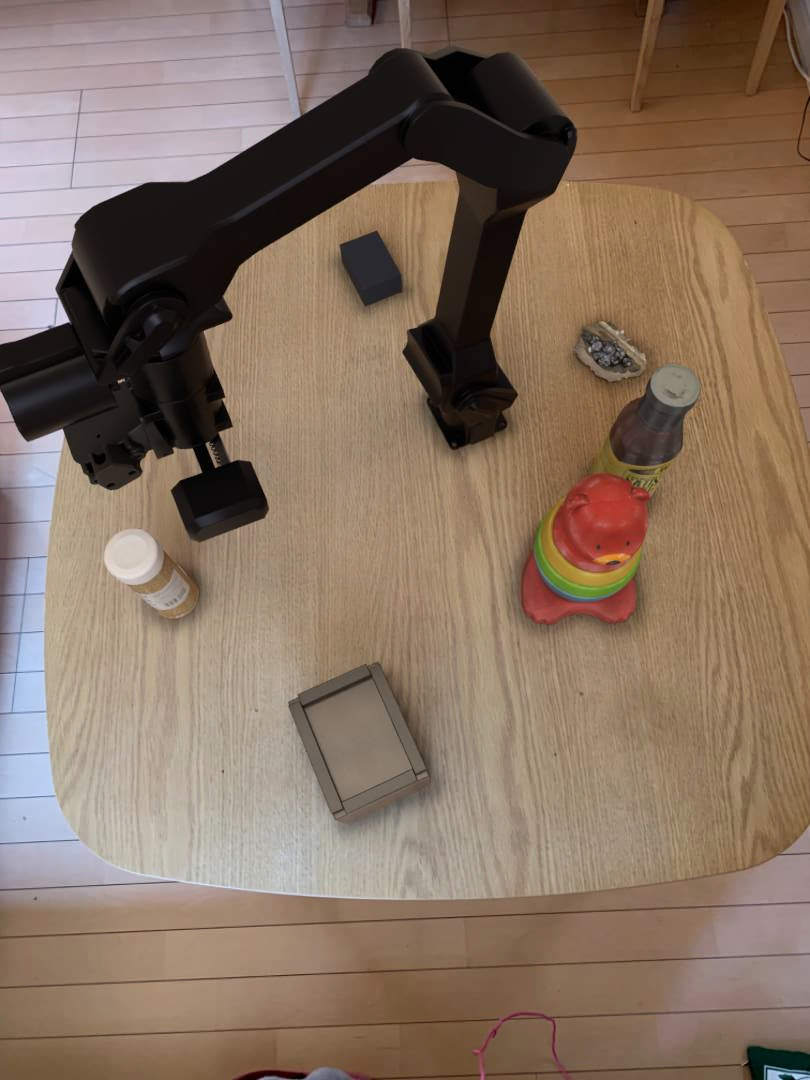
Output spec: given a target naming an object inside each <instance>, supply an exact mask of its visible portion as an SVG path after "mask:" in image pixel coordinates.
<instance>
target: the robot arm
mask: <svg viewBox="0 0 810 1080" xmlns="http://www.w3.org/2000/svg"><path fill="white" fill-rule="evenodd" d="M578 138H579V132H578V129H577V128H576V126H575V124H574V123H573V120H571V118H570V117H569V115H567V113H566V112H565V111H564V110H563V108H562V107H561V106H560V105H559V103H558V102H557V101H556V99H555V98H554V96H553V95H552V94H551V93H550V91H549V90H548V89H547V88H546V86H545V85H544V84H543V83H542V82H541V80H540V79H539V77H538V76H537V75H536V74H535V73H534V71H533V70H532V68H531V67H530V66H529V64H527V62H526V61H525V60H524V59H523V57H521V55H519V54H517V53H514V52H511V51H504V52H497V53H494V54H492V55H490V54H486V53H482V52H480V51H476V50H472V49H467V48H464V47H461V46H457V45H448V46H445V47H443V48H440V49H438V50H435V51H433V52H430V53H428V52H423V51H419V50H415V49H412V48H407V47H395V48H393V49H390V50H388V51H386V52H384V53H383V54H382V55H381V56H380V57H378V58H377V59H376V60H375V61H374V62H373V65H372V66H371V68H370V69H369V70H368V72H367V75H366V76H364V77H362V78H360V79H359V80H357V81H355V82H354V83H352V84H350V85H349V86H347V87H346V88H344V89H343V90H341V91H339V92H338V93H336V94H335V95H333V96H331V97H330V98H328V99H326V100H325V101H323V102H321V103H320V104H318V105H316V106H315V107H313V108H312V109H310V110H309V111H307V112H305V113H304V114H302V115H300V116H299V117H297V118H295V119H294V120H292V121H290V122H289V123H287V124H285V125H284V126H282V127H280V128H279V129H277V130H275V131H274V132H272V133H271V134H269V135H268V136H266V137H264V138H263V139H260V140H259V141H258V142H255V143H254V144H253V145H251V146H250V147H248V148H246V149H245V150H243V151H241V152H239V153H238V154H236V155H235V156H233V157H232V158H229V159H228V160H227V161H225V162H223V163H222V164H220V165H218V166H217V167H215V168H213V169H212V170H210V171H209V172H206V173H205V174H203V175H200V176H198V177H195V178H193V179H191V180H188V181H148V182H145V183H142V184H139V185H137V186H135V187H133V188H131V189H128V190H126V191H124V192H122V193H119V194H117V195H114V196H112V197H110V198H108V199H105V200H103V201H101V202H98V203H97V204H95V205H92V207H90V208H89V209H88V210H87V211H85V212H84V213H83V214H82V215H80V216H79V218H78V219H77V220H76V221H75V223H74V225H73V227H74V232H73V236H72V239H71V252H70V254H69V257H68V259H67V261H66V263H65V265H64V268H63V270H62V272H61V274H60V276H59V279H58V280H57V283H56V285H55V288H54V290H55V293H56V295H57V297H58V299H59V302H60V303H61V307H62V308H63V310H64V312H65V315H66V317H67V319H68V321H67V322H65V323H62V324H59V325H57V326H54V327H51V328H49V329H48V328H47V329H46V330H43V331H40V332H37V333H35V334H32V335H28V336H26V337H24V338H21V339H17V340H13V341H8V342H4V343H1V344H0V394H1V395H2V397H3V399H4V401H5V403H6V405H7V407H8V410H9V412H10V414H11V418H12V420H13V422H14V425H15V427H16V429H17V431H18V432H19V434H20V435H21V437H22V438H23V440H24V441H25V442H27V443H30V442H33V441H36V440H37V439H40V438H43V437H45V436H48V435H50V434H54V433H56V432H58V431H61V430H62V431H63V435H64V437H65V440H66V443H67V446H68V449H69V453H70V455H71V458H72V460H73V461H74V462H75V463H77V464H79V465H80V467H81V471H82V473H83V475H85V476H87V478H88V481H89V483H90V485H93V486H97V485H98V486H100V487H102V488H104V489H106V490H108V491H117V490H120V489H121V488H123V487H125V486H127V485H128V484H130V483H132V482H133V481H135V480H137V479H139V478H140V477H141V476H142V475H143V472H144V471H143V468H142V466H141V462H142V460H144V459H145V458H146V457H147V454H148V453H149V452H151V451H153V453H154V455H155V457H156V459H157V460H160V459H163V458H167V457H169V456H171V455H174V453H175V451H174V448H176V449H178V450H192V452H193V455H194V456H195V459H196V461H197V464H198V466H199V468H200V471H201V472H200V473H199V472H198V473H197V474H193V475H191V476H189V477H186V478H183V479H180V480H179V481H178V482H177V483H176V484H175V485H174V486H173V487H172V488H171V489H170V494H171V495H172V499H173V501H174V503H175V506H176V508H177V512H178V514H179V516H180V519H181V521H182V524H183V527H184V529H185V532H186V534H187V537H188V538H189V540H191V541H195V542H197V543H202V542H205V541H208V540H211V539H213V538H216V537H219V536H221V535H223V534H226V533H227V534H228V533H229V532H232V531H234V530H238V529H240V528H243V527H245V526H248V525H251V524H253V523H256V522H258V521H262V520H264V519H265V518H266V516H267V514H268V512H269V511H270V506H269V503H268V499H267V496H266V493H265V491H264V489H263V487H262V484H261V482H260V479H259V478H258V474H257V472H256V469H255V467H254V466H253V463H252V461H250V460H241V459H235V460H233V461H231V459H230V456H229V454H228V451H227V449H226V446H225V443H224V442H223V439H222V436H221V434H220V432H224V431H226V430H228V429H231V428H234V424H233V420H232V419H231V416H230V414H229V411H228V409H227V407H226V404H225V402H224V400H223V399H226V394H225V391H224V388H223V385H222V383H221V381H220V378H219V376H218V373H217V371H216V368H215V367H214V364H213V360H212V356H211V353H210V349H209V346H208V341H207V339H206V334H205V332H206V331H208V330H210V329H212V328H216V327H218V326H221V325H223V324H226V323H229V322H230V321H232V319H233V317H234V315H233V312H232V310H231V308H230V306H229V305H228V303H227V301H226V300H225V297H224V296H225V294H226V292H227V290H228V288H229V286H230V285H231V283H232V281H233V279H234V277H235V276H236V274H237V271H238V270H239V268H240V267H241V266H242V265H243V264H244V263H245V262H247V261H248V260H249V259H251V258H252V257H253V256H255V255H256V254H257V253H259V252H260V251H262V250H264V249H266V248H267V247H269V246H271V245H272V244H273V243H275V242H277V241H279V240H280V239H282V238H284V237H285V236H287V235H289V234H290V233H292V232H293V231H295V230H297V229H299V228H300V227H301V226H303V225H305V224H307V223H309V222H310V221H312V220H313V219H315V218H316V217H317V218H318V216H320V215H322V214H323V213H325V212H327V211H328V210H330V209H331V208H333V207H335V206H337V205H338V204H340V203H341V202H343V201H345V200H346V199H348V198H350V197H351V196H353V195H355V194H356V193H358V192H360V191H361V190H363V189H365V188H366V187H368V186H369V185H372V184H373V183H374V182H377V181H378V180H379V179H381V178H382V177H383V178H384V176H386V175H388V174H389V173H391V172H392V171H394V170H396V169H397V168H399V167H401V166H403V165H405V164H406V163H408V162H409V161H411V160H413V159H415V160H418V161H421V162H422V161H423V162H429V163H435V164H436V163H437V164H440V165H442V166H444V167H446V168H448V169H450V170H452V171H454V173H455V175H456V181H457V184H458V197H457V201H456V208H455V210H454V211H455V212H454V217H453V221H452V227H451V233H450V236H449V242H448V247H447V252H446V258H445V262H444V268H443V271H442V272H443V273H442V277H441V283H440V288H439V293H438V299H437V302H436V303H437V304H436V308H435V313H434V316H433V317H432V318H430V319H428V320H426V321H424V322H422V323H420V324H418V325H417V326H416V327H413V328H409V329H407V330H406V336H407V340H406V344H405V346H404V348H403V350H402V352H401V353H402V355H403V357H404V358H405V360H406V362H407V363H408V365H409V367H410V369H411V370H412V372H413V373H414V375H415V376H416V378H417V379H418V382H419V383H420V385H421V386H422V387H423V390H424V391H425V393H426V395H427V396H428V397H427V398H426V406H427V408H428V409H429V411H430V413H431V415H432V416H433V419H434V421H435V423H436V425H437V427H438V428H439V430H440V432H441V434H442V436H443V438H444V440H445V442H446V444H447V445H448V448H449V449H450V450H452V451H457V450H459V449H462V448H464V447H466V446H469V445H471V446H473V445H476V444H478V443H480V442H483V441H485V440H487V439H490V438H492V437H494V436H495V434H497V433H499V432H501V431H504V430H506V429H507V427H508V420H507V419H506V417H505V415H504V413H503V412H504V411H506V410H508V409H510V408H511V407H512V406H513V405H514V403H515V401H516V399H517V398H518V396H519V393H518V392H517V390H516V388H515V387H514V385H513V384H512V382H511V381H510V379H509V377H508V376H507V375H506V374H505V372H504V371H503V369H502V367H501V366H500V364H499V362H498V360H497V358H496V354H495V353H496V352H495V348H494V346H493V341H492V338H491V337H492V336H491V333H492V330H493V325H494V323H495V319H496V315H497V313H498V310H499V305H500V302H501V299H502V295H503V292H504V289H505V285H506V282H507V278H508V275H509V272H510V269H511V265H512V262H513V258H514V256H515V251H516V249H517V245H518V242H519V239H520V235H521V231H522V228H523V225H524V221H525V218H526V215H527V213H528V211H529V210H530V209H531V208H532V207H535V206H536V205H538V204H539V203H541V202H542V201H545V200H546V199H548V198H549V197H551V196H553V195H554V194H555V193H556V191H557V189H558V187H559V185H560V183H561V181H562V179H563V177H564V174H565V173H566V171H567V168H568V166H569V164H570V162H571V161H572V159H573V156H574V153H575V152H576V148H577V144H578V140H579V139H578ZM119 381H121V382H119ZM207 444H209V447H210V450H211V451H212V455H213V458H214V459H215V462H216V464H217V466H215V463H214V460H213V458H212V456H211V454H210V451H209V449H208V446H207ZM453 444H455V445H453Z"/></svg>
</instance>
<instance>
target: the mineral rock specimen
mask: <svg viewBox="0 0 810 1080" xmlns="http://www.w3.org/2000/svg"><path fill="white" fill-rule="evenodd" d="M623 334H625V330H624V329H621V330H619V328H618V327H617V326H616V325H615V323H612V322H611V321H610V320H609V321H607V320H605V321H604V320H601V321H598V322H595V323H593V324H590V325H583V326H582V328H581V333H579V334H578V339H579V340H578V341H579V343H575V344H574V346H571V348H572V349H573V350H572V352H573V354H574V353H576V354H577V357H578V359H579V360H580V361H581V362H582V363H583V364H584V365H585V366H589V368H590V369H589V370H590V371H594V374H595V376H596V377H598V378H603V379H604V380H606V381H607V382H608V383H612V382H621V381H622V380H623V379H626V380H627V379H628V378H633V377H639V376H641V375H643V374H644V373H645V372H646V371H645V370H647V367H646V366H647V365H648V361H647V359H646V355H645V353H644V352H643V353H642V352H641V350H638V347H637V346H633V345H630V343H628V341H631V338H627V337H626V336H625V335H623Z"/></svg>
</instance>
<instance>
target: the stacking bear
mask: <svg viewBox="0 0 810 1080" xmlns="http://www.w3.org/2000/svg"><path fill="white" fill-rule="evenodd" d="M589 475H590V474H589ZM589 475H587V476H585V477H583V478H581V479H580V480H578V481H577V482H576V483H575V484H574V485H573V486H572V487H571V488H570V490H569V491H568V493H567V494H566V495H565V496H564V497H562V498H561V499H560V500H558V502H556V503H555V504H554V505H553V506H552V507H551V508H549V510H548V511H547V512H546V513H545V515H544V516H543V517H542V519H541V521H540V522H539V524H538V525H537V528H536V532H535V536H534V540H533V548H532V550H531V551H530V553H529V555H528V557H527V560H526V562H525V564H524V568H523V571H522V577H521V581H520V582H521V583H520V600H521V601H520V602H521V608H522V612H523V613H524V615H525V616H527V617H529V618H530V619H531V621H532V622H533V623H535V624H537V625H538V624H544V625H546V626H547V625H553V624H556V623H558V622H559V621H560V620H562V619H564V618H566V617H569V616H571V615H577V614H579V615H589V616H592V617H595V618H596V619H598V620H601V621H602V622H604V623H608V624H609V625H611V624H612V625H613V624H616V623H621V624H622V623H625V622H627V621H628V620H629V617H630V616H632V615H633V614H635V612H636V609H637V589H636V583H635V578H634V576H635V574H636V573H637V570H638V568H639V566H640V563H641V559H642V554H643V543H644V541H645V539H646V537H647V532H648V527H649V511H648V507H647V502H649V501H650V500H651V497H650V494H649V492H648V491H647V490H646V489H644V488H641V487H635V486H634V485H633V484H632V483H631V482H629V481H628V480H626V479H624V478H622V477H620V476H617V475H614V474H610V473H597V474H593V475H590V476H589Z"/></svg>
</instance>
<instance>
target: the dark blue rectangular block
mask: <svg viewBox="0 0 810 1080" xmlns="http://www.w3.org/2000/svg"><path fill="white" fill-rule="evenodd" d="M339 250H340V257H341V263H342V265H343V267H344V268H345V271H346V272H347V274H348V277H349V279H350V280H351V282H352V284H353V286H354V288H355V290H356V292H357V294H358V296H359V298H360V300H361V301H362V303H363V305H364V307H367V306H370V305H371V304H372V305H373V304H375V303H377V302H380V301H382V300H384V299H386V298H390V297H392V296H395V295H397V294H400V293H402V292H403V284H402V282H403V281H402V273H401V271H400V270H399V267H398V266H397V264H396V262H395V260H394V259H393V257H392V255H391V252H390V251H389V250H388V247H387V246H386V244H385V242H384V240H383V238H382V236H381V234H380V233H379V231H378V230H375V231H374V230H373V231H371V232H368V233H366V234H363V235H361V236H358V237H356V238H353V239H351V240H348V241H346V242H343V243H341V244H339Z"/></svg>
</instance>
